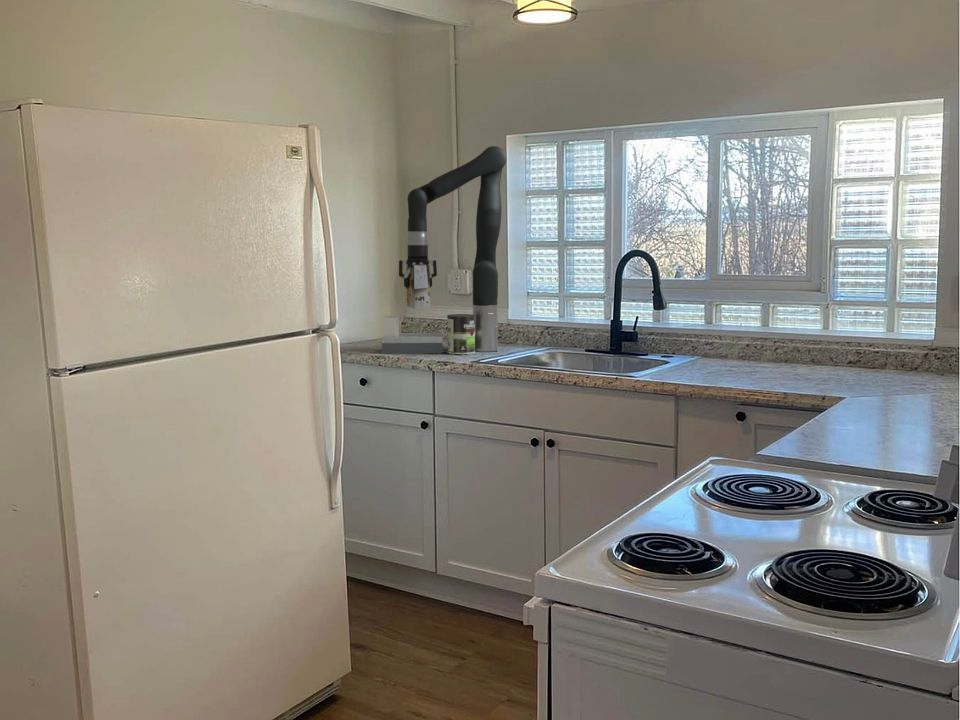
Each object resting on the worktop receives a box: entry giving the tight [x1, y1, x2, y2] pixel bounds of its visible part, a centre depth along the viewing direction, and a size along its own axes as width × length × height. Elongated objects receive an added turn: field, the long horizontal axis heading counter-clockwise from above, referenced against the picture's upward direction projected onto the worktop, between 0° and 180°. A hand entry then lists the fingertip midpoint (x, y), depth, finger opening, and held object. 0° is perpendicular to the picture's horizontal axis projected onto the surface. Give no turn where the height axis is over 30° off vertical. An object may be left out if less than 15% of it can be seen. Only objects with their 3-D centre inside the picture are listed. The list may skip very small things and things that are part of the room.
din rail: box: [381, 332, 444, 344], centre depth 338 cm, size 22×13×2 cm, turn 92°
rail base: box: [381, 339, 444, 355], centre depth 338 cm, size 22×14×4 cm, turn 92°
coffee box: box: [405, 264, 431, 309], centre depth 335 cm, size 9×6×16 cm
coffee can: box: [446, 313, 476, 356], centre depth 333 cm, size 10×10×14 cm
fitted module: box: [383, 315, 400, 337], centre depth 337 cm, size 5×9×8 cm, turn 2°
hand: (418, 288), depth 335 cm, fingers closed on coffee box, 8 cm apart
